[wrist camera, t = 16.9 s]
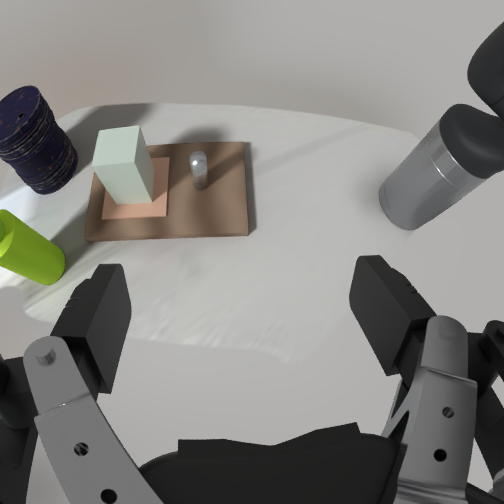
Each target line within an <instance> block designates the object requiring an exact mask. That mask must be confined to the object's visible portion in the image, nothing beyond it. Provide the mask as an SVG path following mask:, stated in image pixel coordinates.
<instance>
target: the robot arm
mask: <svg viewBox="0 0 504 504" xmlns="http://www.w3.org/2000/svg"><path fill="white" fill-rule="evenodd" d="M467 74H468V75H467V76H468V81H469V84H470V86H471V87H472V89H473V90H474V91H475V93H476V94H477V95H478V96H479V97H480V98H481V99H482V100H483V101H484V102H485V103H486V104H487V105H488V106H489V107H490V108H491V109H492V110H493V111H494V112H495V113H496V114H497V115H498V116H499V117H497V116H493V115H490V114H487V113H485V112H483V111H481V110H478V109H476V108H474V107H472V106H469V105H466V104H456V105H453V106H452V107H450V108H449V109H448V110H447V111H446V112H445V114H444V115H443V116H442V117H441V119H440V120H439V121H438V122H437V123H436V124H435V126H434V127H433V128H432V129H431V130H430V131H429V133H428V134H427V135H426V136H425V137H424V138H423V139H422V141H421V142H420V143H419V144H418V145H417V146H416V147H415V148H414V150H413V151H412V152H411V153H410V154H409V155H408V156H407V157H406V159H405V160H404V161H403V162H402V163H401V164H400V165H399V166H398V167H397V169H396V170H395V171H394V172H393V173H392V174H391V175H390V176H389V177H388V178H387V179H386V181H385V182H384V183H383V184H382V186H381V189H380V195H379V197H380V203H381V206H382V209H383V211H384V213H385V214H386V215H387V217H388V218H389V219H390V220H391V221H392V222H393V223H394V224H395V225H397V226H398V227H400V228H403V229H406V230H415V229H418V228H419V227H421V226H422V225H423V224H425V223H427V222H428V221H430V220H432V219H433V218H435V217H436V216H438V215H439V214H440V213H442V212H443V211H445V210H446V209H448V208H449V207H451V206H452V205H453V204H455V203H456V202H458V201H459V200H461V199H462V198H463V197H464V196H465V195H467V194H468V193H470V192H471V191H472V190H474V189H475V188H476V187H478V186H479V185H480V184H481V183H483V182H484V181H486V180H487V179H488V178H490V177H491V176H492V175H494V174H495V173H497V172H501V171H503V170H504V22H503V23H502V24H501V25H500V26H499V27H498V28H497V29H495V30H494V31H493V32H492V33H491V34H490V35H489V37H488V38H487V39H486V40H485V41H484V42H483V43H482V44H481V45H480V47H479V48H478V49H477V51H476V52H475V54H474V55H473V57H472V59H471V61H470V64H469V67H468V71H467ZM349 302H350V307H351V310H352V312H353V313H354V315H355V317H356V319H357V321H358V323H359V324H360V326H361V328H362V330H363V332H364V334H365V336H366V338H367V339H368V341H369V343H370V345H371V347H372V349H373V351H374V353H375V355H376V357H377V358H378V360H379V362H380V364H381V366H382V368H383V370H384V372H385V374H386V376H390V375H395V374H399V373H400V375H401V377H402V378H401V380H400V382H399V384H398V387H397V391H396V395H395V397H394V401H393V404H392V407H391V410H390V413H389V417H388V420H387V422H386V425H385V428H384V430H383V432H382V434H381V436H379V435H375V434H366V433H360V430H359V428H358V425H357V423H356V422H354V423H350V424H345V425H340V426H335V427H329V428H323V429H318V430H314V431H312V432H309V433H307V434H304V435H302V436H299V437H296V438H294V439H291V440H288V441H286V442H283V443H280V444H277V445H271V446H268V445H259V444H252V443H245V442H238V441H232V440H226V439H209V440H208V439H207V440H178V451H176V452H171V453H168V454H165V455H162V456H159V457H157V458H155V459H152V460H150V461H149V462H147V463H146V464H144V465H142V466H141V467H139V468H138V466H137V465H136V464H135V462H134V461H133V459H132V458H131V456H130V455H129V454H128V452H127V451H126V449H125V448H124V446H123V445H122V443H121V442H120V440H119V439H118V437H117V436H116V434H115V433H114V431H113V429H112V428H111V426H110V424H109V423H108V421H107V419H106V418H105V416H104V414H103V413H102V411H101V409H100V407H99V406H98V404H97V402H96V401H97V397H98V393H106V394H111V392H112V387H113V383H114V379H115V375H116V371H117V367H118V363H119V359H120V356H121V352H122V348H123V344H124V341H125V337H126V334H127V330H128V327H129V323H130V320H131V301H130V297H129V293H128V288H127V284H126V279H125V275H124V270H123V267H122V265H121V264H99V265H98V267H97V268H96V270H95V272H94V274H93V275H92V277H91V279H85V280H84V281H83V282H82V283H81V284H79V285H78V286H77V287H76V288H75V290H74V291H73V293H72V295H71V297H70V300H68V302H67V304H66V306H65V308H64V309H63V311H62V313H61V315H60V317H59V319H58V321H57V322H56V325H55V326H54V328H53V330H52V332H51V334H50V336H47V337H43V338H40V339H38V340H36V341H34V342H33V343H32V344H31V345H30V346H29V347H28V348H27V349H26V351H25V353H24V356H23V357H18V358H12V359H6V360H4V359H3V358H2V356H1V354H0V504H26V496H27V489H28V483H29V477H30V471H31V466H32V461H33V456H34V451H35V446H36V442H37V438H38V433H39V435H40V438H41V441H42V443H43V446H44V448H45V451H46V453H47V456H48V458H49V460H50V463H51V465H52V467H53V470H54V472H55V474H56V476H57V478H58V480H59V482H60V484H61V486H62V488H63V490H64V492H65V494H66V496H67V498H68V500H69V502H70V504H504V408H503V406H502V404H501V402H500V401H499V399H498V397H497V396H496V394H495V392H494V390H493V389H492V387H491V385H492V384H493V383H494V381H495V380H496V378H497V377H498V375H500V377H501V378H502V380H503V382H504V322H501V321H498V320H493V321H490V322H488V323H487V325H486V327H485V329H484V331H483V333H470V332H467V331H466V329H465V328H464V326H463V325H462V324H461V323H460V322H458V321H457V320H455V319H453V318H451V317H448V316H440V315H439V316H437V315H436V313H435V312H434V311H433V310H432V308H431V307H430V306H429V305H428V303H427V302H426V301H425V300H424V298H423V297H422V296H421V295H420V294H419V293H417V290H416V289H415V288H414V286H412V285H411V283H410V282H409V281H408V279H407V278H406V277H405V276H404V275H403V274H401V273H399V272H398V271H397V270H395V269H394V268H391V267H390V266H389V265H388V263H387V262H386V261H385V260H384V259H383V258H382V257H381V256H380V255H369V256H359V257H358V259H357V261H356V266H355V271H354V275H353V280H352V284H351V289H350V294H349ZM474 438H475V440H476V442H477V444H478V446H479V449H480V451H481V453H482V455H483V458H484V460H485V462H486V465H487V467H488V469H489V472H490V474H491V477H492V479H493V488H492V489H490V490H489V492H488V493H487V492H485V491H483V490H481V489H479V488H478V487H476V486H474V485H472V484H470V483H468V482H467V478H468V473H469V467H470V461H471V455H472V447H473V439H474Z"/></svg>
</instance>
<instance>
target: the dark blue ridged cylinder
mask: <svg viewBox="0 0 504 504" xmlns="http://www.w3.org/2000/svg"><path fill="white" fill-rule="evenodd" d="M0 157H1V159H2V160H3V161H5V162H6V163H9V164H10V165H11V166H12V167H13V168H14V169H15V171H16V173H17V174H18V175H19V176H20V177H21V179H22V180H23V181H24V182H25V183H26V184H27V185H28V186H30V187H31V188H32V189H33V190H34V191H35V192H36V193H38V194H43V195H46V194H51V193H54V192H56V191H58V190H59V189H61V188H62V187H63V186H64V185H65V184H66V183H67V182H68V181H69V180H70V179H71V177H72V176H73V174H74V172H75V170H76V167H77V163H78V156H77V152H76V150H75V149H74V147H73V146H72V143H71V141H70V139H69V138H68V136H67V135H66V134H65V133H64V131H63V130H62V129H61V128H60V127H59V126H58V125H57V123H56V121H55V119H54V115H53V112H52V110H51V109H50V107H49V106H48V103H47V102H46V100H45V99H44V98H43V97H42V95H41V93H40V91H39V90H38V88H37V87H35V86H24V87H21V88H18V89H17V90H14V91H13V92H11V93H9V94H8V95H7V96H6V97H4V98H3V99H2V100H1V101H0Z"/></svg>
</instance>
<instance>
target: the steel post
mask: <svg viewBox="0 0 504 504" xmlns="http://www.w3.org/2000/svg"><path fill="white" fill-rule="evenodd" d="M189 160H190V167H191V173H192V179H193V185H194V188H195V189H196V190H198V191H203V190H205V189H206V188H207V187H208V173H207V158H206V154H205V153H204V152H202V151H195V152H193V153H192V154H191V155H190V157H189Z"/></svg>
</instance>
